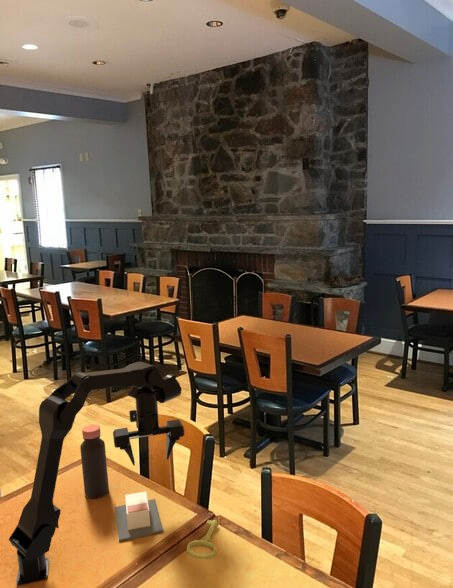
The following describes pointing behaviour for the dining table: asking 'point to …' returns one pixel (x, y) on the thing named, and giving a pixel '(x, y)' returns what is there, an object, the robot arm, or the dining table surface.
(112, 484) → the dining table surface
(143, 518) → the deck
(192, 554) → the key
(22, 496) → the dining table surface
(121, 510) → the mat
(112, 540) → the dining table surface
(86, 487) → the bottle
